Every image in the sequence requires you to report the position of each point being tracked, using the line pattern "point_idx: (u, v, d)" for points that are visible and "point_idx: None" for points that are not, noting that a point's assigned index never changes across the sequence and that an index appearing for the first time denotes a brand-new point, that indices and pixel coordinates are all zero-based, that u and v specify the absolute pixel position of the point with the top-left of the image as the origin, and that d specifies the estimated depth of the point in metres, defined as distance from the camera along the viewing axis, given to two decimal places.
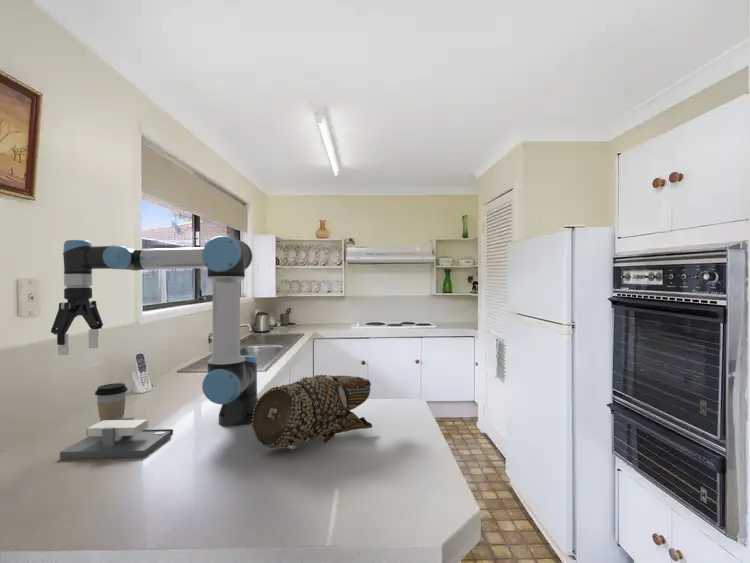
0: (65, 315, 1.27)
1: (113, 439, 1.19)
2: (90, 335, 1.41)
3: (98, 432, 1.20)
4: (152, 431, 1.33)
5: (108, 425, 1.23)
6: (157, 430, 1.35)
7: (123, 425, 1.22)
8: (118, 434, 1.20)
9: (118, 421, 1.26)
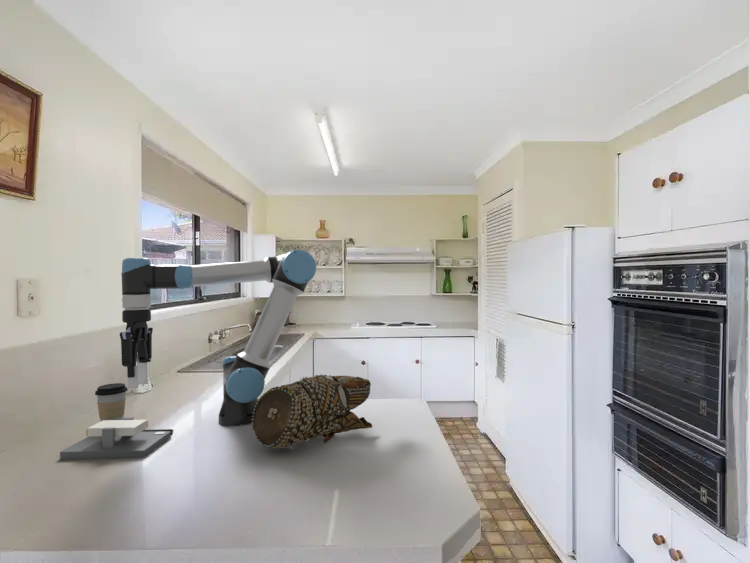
0: (130, 346, 1.18)
1: (113, 439, 1.19)
2: (139, 369, 1.26)
3: (98, 432, 1.20)
4: (152, 431, 1.33)
5: (108, 425, 1.23)
6: (157, 430, 1.35)
7: (123, 425, 1.22)
8: (118, 434, 1.20)
9: (118, 421, 1.26)
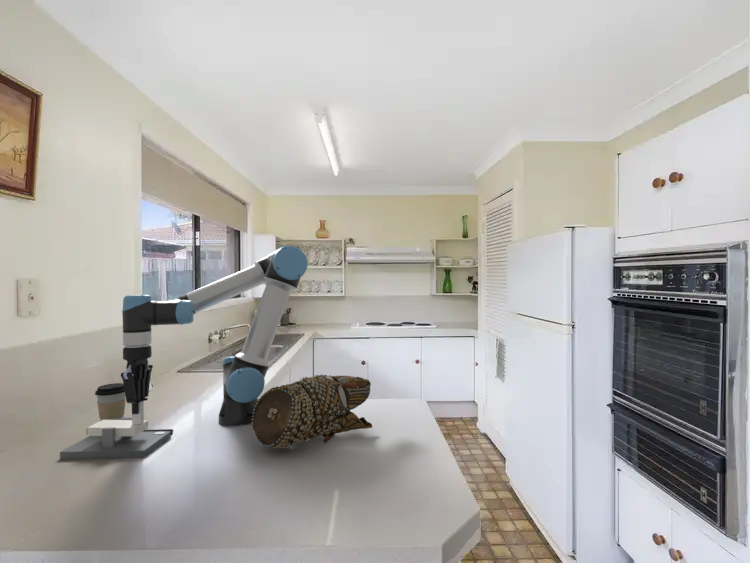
0: (133, 384, 1.19)
1: (113, 439, 1.19)
2: None
3: (98, 431, 1.20)
4: (152, 431, 1.33)
5: (108, 424, 1.23)
6: (157, 430, 1.35)
7: (123, 426, 1.22)
8: (118, 434, 1.20)
9: (118, 421, 1.26)
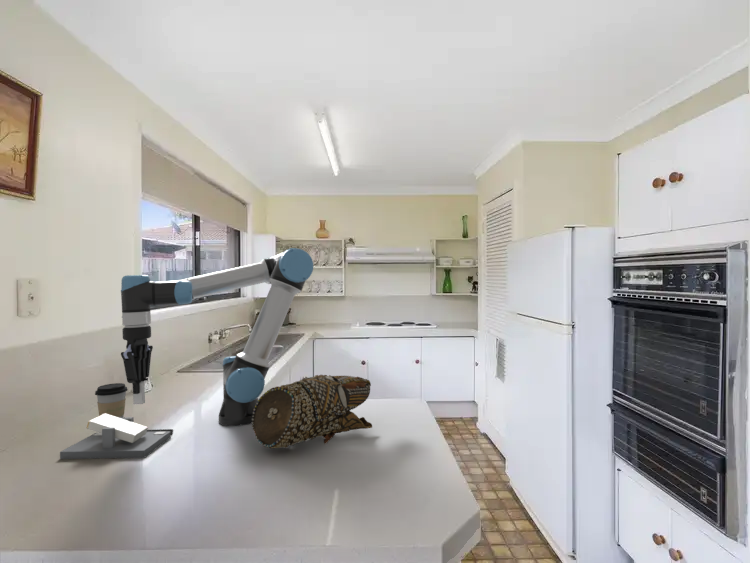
0: (133, 364, 1.19)
1: (113, 439, 1.19)
2: None
3: (98, 428, 1.20)
4: (152, 431, 1.33)
5: (110, 422, 1.23)
6: (157, 430, 1.35)
7: (124, 428, 1.22)
8: (117, 436, 1.20)
9: (119, 420, 1.26)
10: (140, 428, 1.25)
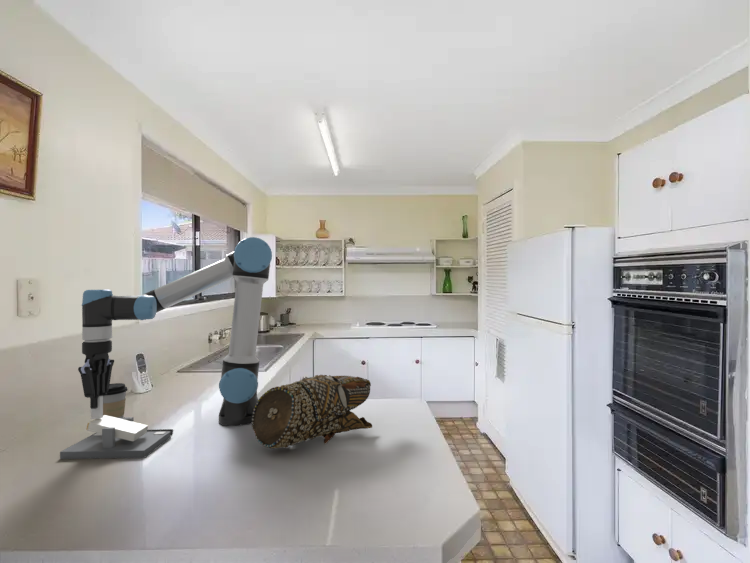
0: (91, 379, 1.19)
1: (113, 439, 1.19)
2: None
3: (98, 429, 1.20)
4: (152, 431, 1.33)
5: (109, 423, 1.23)
6: (157, 430, 1.35)
7: (124, 428, 1.22)
8: (117, 436, 1.20)
9: (119, 420, 1.26)
10: (140, 427, 1.25)
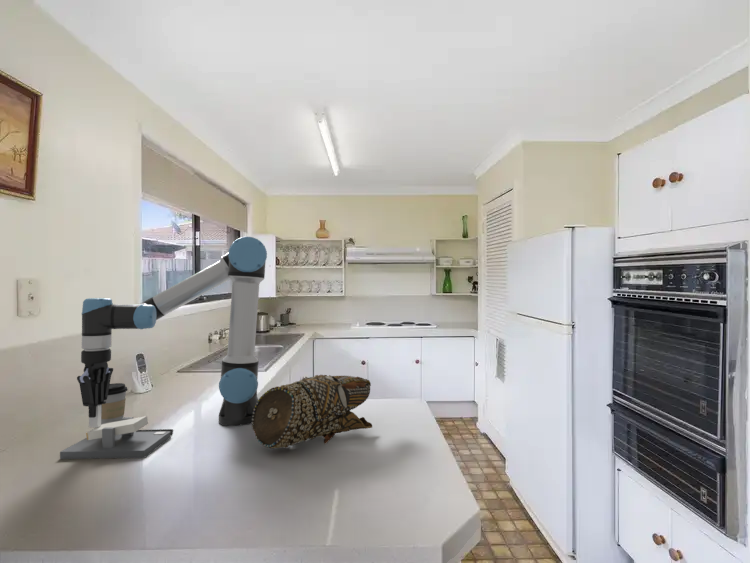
0: (89, 388, 1.19)
1: (113, 439, 1.19)
2: None
3: (98, 434, 1.20)
4: (152, 431, 1.33)
5: (108, 426, 1.23)
6: (157, 430, 1.35)
7: (122, 424, 1.22)
8: (118, 433, 1.20)
9: (117, 422, 1.26)
10: (139, 419, 1.25)
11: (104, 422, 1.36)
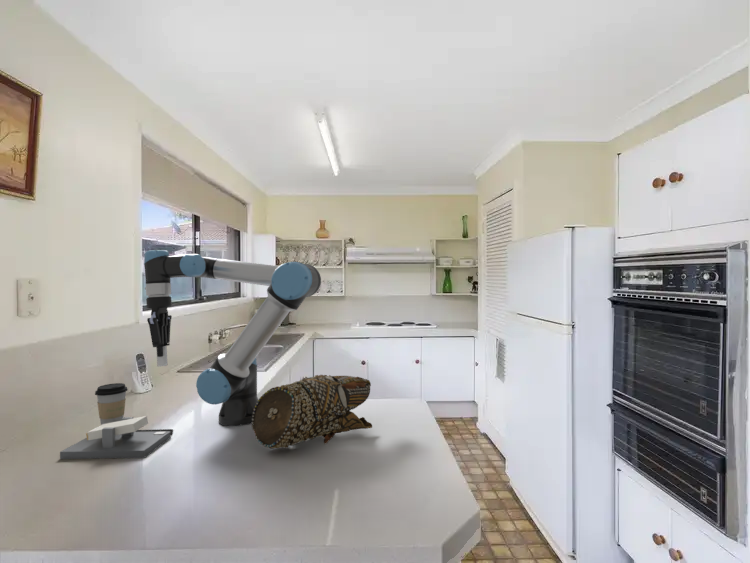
0: (158, 329, 1.34)
1: (113, 439, 1.19)
2: None
3: (98, 434, 1.20)
4: (152, 431, 1.33)
5: (108, 426, 1.23)
6: (157, 430, 1.35)
7: (122, 424, 1.22)
8: (118, 433, 1.20)
9: (117, 422, 1.26)
10: (139, 418, 1.25)
11: (104, 422, 1.36)
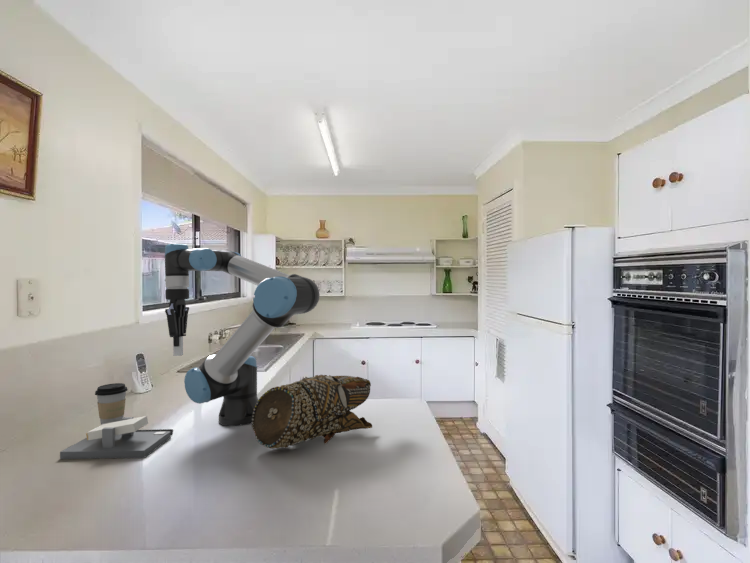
0: (175, 320, 1.39)
1: (113, 439, 1.19)
2: None
3: (98, 434, 1.20)
4: (152, 431, 1.33)
5: (108, 426, 1.23)
6: (157, 430, 1.35)
7: (122, 424, 1.22)
8: (118, 433, 1.20)
9: (117, 422, 1.26)
10: (139, 418, 1.25)
11: (104, 422, 1.36)
